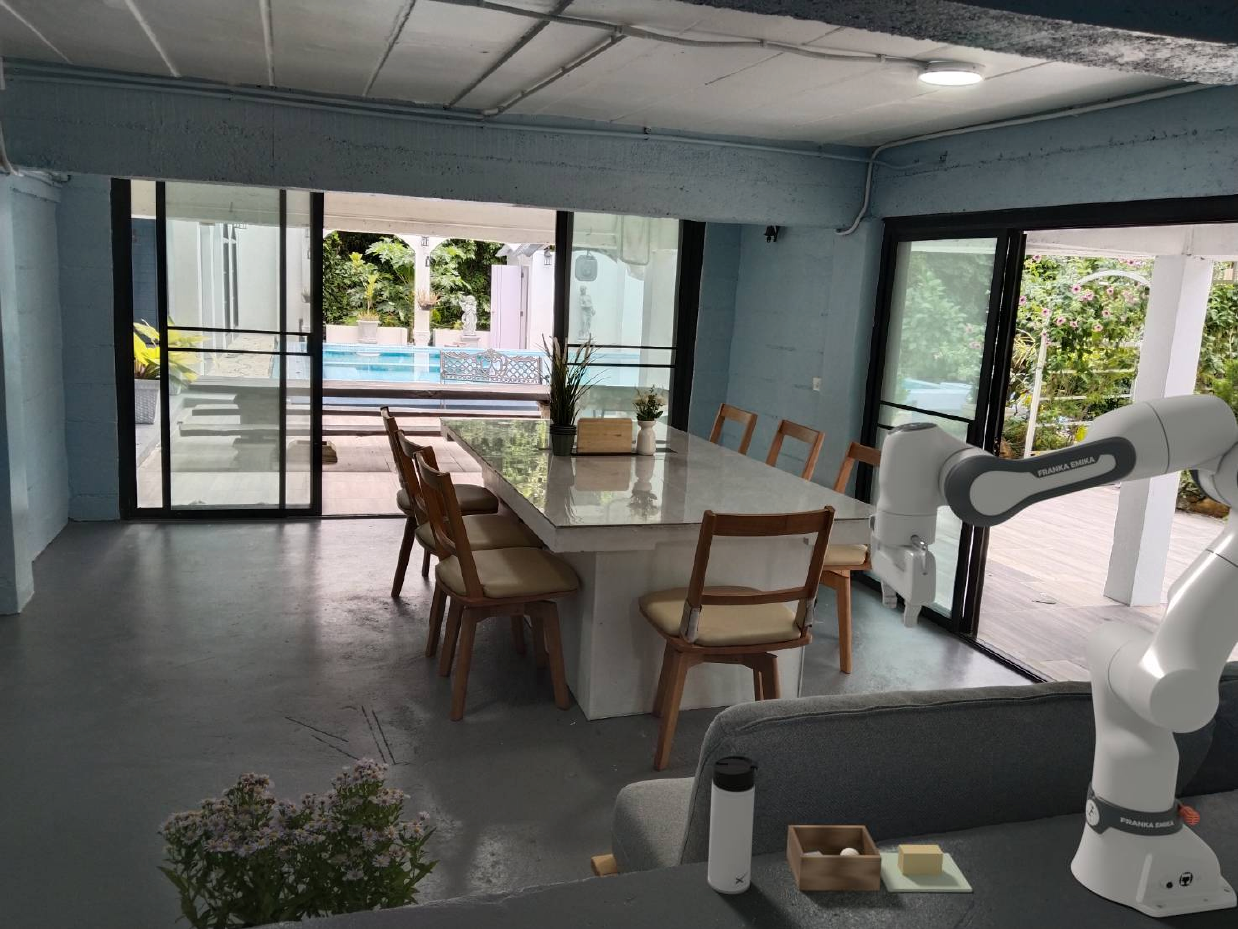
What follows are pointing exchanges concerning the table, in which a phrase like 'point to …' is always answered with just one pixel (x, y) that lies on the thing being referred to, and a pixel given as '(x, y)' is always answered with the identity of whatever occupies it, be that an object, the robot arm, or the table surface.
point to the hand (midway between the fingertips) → (898, 616)
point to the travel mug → (731, 824)
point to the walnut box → (833, 858)
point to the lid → (921, 870)
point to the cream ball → (849, 852)
